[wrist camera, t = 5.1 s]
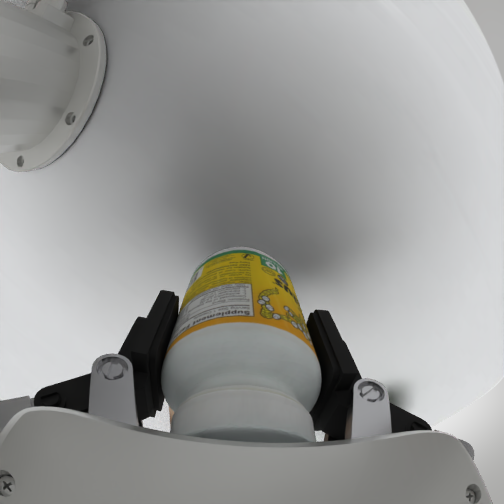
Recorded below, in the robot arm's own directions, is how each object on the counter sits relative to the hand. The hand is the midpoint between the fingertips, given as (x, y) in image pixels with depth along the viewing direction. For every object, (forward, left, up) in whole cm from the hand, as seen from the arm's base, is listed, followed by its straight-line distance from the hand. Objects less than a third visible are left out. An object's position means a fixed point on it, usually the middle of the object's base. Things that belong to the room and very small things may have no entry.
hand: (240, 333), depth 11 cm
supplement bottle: (0, 0, -4) cm, 4 cm away
